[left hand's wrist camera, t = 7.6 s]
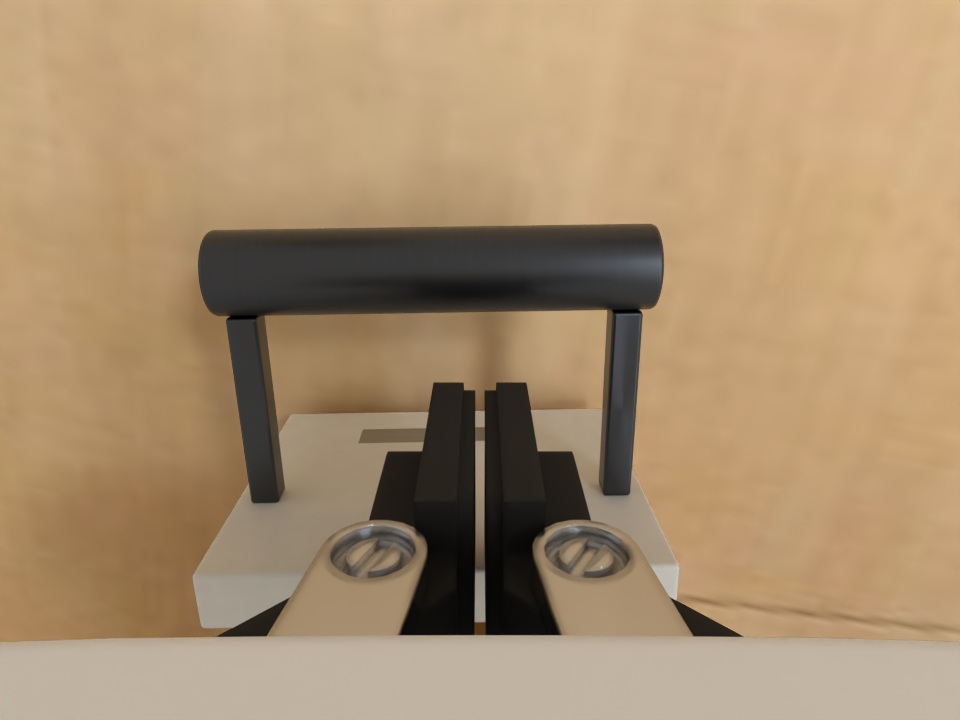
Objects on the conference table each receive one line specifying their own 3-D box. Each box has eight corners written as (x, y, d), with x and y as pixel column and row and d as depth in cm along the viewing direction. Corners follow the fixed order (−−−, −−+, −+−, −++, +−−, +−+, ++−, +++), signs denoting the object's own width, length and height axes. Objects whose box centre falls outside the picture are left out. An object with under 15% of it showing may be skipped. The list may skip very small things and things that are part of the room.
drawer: (266, 204, 17) (131, 257, 10) (615, 199, 17) (713, 249, 10) (337, 837, 24) (287, 1116, 18) (582, 831, 25) (626, 1105, 18)
